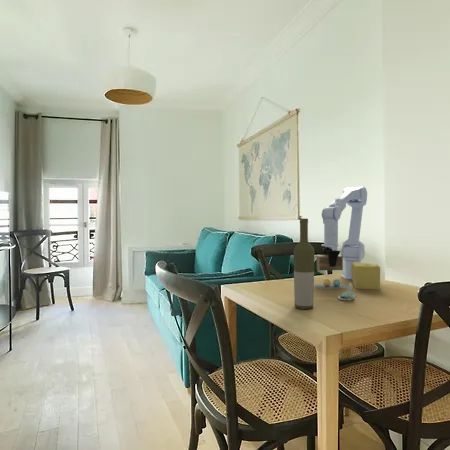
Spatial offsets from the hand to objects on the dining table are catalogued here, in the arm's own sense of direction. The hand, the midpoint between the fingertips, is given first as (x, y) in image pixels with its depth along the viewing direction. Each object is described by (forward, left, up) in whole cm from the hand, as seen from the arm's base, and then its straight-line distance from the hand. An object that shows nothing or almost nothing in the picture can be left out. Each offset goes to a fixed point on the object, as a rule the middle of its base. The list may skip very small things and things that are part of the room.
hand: (330, 265), depth 152 cm
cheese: (+4, +14, -9) cm, 17 cm away
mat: (+4, -1, -9) cm, 10 cm away
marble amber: (+4, -3, -8) cm, 10 cm away
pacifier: (+24, 0, -9) cm, 26 cm away
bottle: (+37, -17, -9) cm, 42 cm away
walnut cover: (0, -1, -2) cm, 2 cm away
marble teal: (+4, +1, -8) cm, 9 cm away
